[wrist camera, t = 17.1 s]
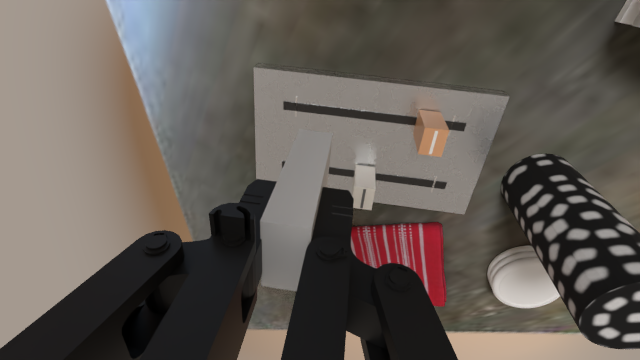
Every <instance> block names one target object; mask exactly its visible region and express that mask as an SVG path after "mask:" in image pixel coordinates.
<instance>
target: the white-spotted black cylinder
mask: <svg viewBox="0 0 640 360" xmlns="http://www.w3.org/2000/svg"><path fill="white" fill-rule="evenodd" d="M501 191H502V195H503V197H504V199H505V201H506V202H507V204H508V206H509V208H510V209H511V211H512V213H513V214H514V216H515V218H516V220H517V221H518V223H519V225H520V227H521V228H522V230H523V232H524V234H525V235H526V237H527V239H528V241H529V242H530V244H531V246H532V248H533V249H534V251H535V253H536V255H537V256H538V258H539V260H540V262H541V263H542V265H543V267H544V269H545V270H546V272H547V274H548V275H549V277H550V279H551V281H552V282H553V284H554V286H555V288H556V289H557V291H558V293H559V295H560V296H561V298H562V300H563V302H564V303H565V305H566V307H567V309H568V310H569V312H570V314H571V316H572V317H573V319H574V321H575V323H576V324H577V326H578V328H579V330H580V331H581V333H582V334H583V335H584V336H585V338H587V339H588V340H590V341H591V342H593V343H595V344H597V345H600V346H604V347H608V348H615V349H638V348H640V233H639V232H638V231H637V230H636V229H635V228H634V227H633V226H632V225H631V224H630V223H629V222H628V221H627V220H626V219H625V218H624V217H623V216H622V215H621V214H620V213H619V212H618V211H617V210H616V209H615V208H614V207H613V206H612V205H611V204H610V203H609V202H608V201H607V200H606V199H605V198H604V197H603V196H602V195H601V194H600V193H599V192H598V191H597V190H596V189H595V188H594V187H593V186H592V185H591V184H590V183H589V182H588V181H587V180H586V179H585V178H584V177H583V176H582V175H581V174H580V173H579V172H578V171H577V170H576V169H575V168H574V167H573V166H572V165H571V164H570V163H569V162H567V161H566V160H565V159H564V158H562V157H560V156H557V155H553V154H537V155H533V156H529V157H527V158H524V159H522V160H521V161H519V162H517V163H516V164H515V165H513V166H512V167H511V168H510V169H509V170H508V171H507V173H506V174H505V176H504V177H503V180H502V184H501Z"/></svg>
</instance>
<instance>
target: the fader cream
mask: <svg viewBox="0 0 640 360" xmlns="http://www.w3.org/2000/svg"><path fill="white" fill-rule="evenodd" d="M375 189H376V186H375V167H370V166H362V165H356V167H355V174H354V180H353V188H352V197H353V198H354V203H353V208H358V209H366V210H372V205H373V200H374V195H375Z"/></svg>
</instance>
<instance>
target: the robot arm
mask: <svg viewBox="0 0 640 360" xmlns="http://www.w3.org/2000/svg"><path fill="white" fill-rule="evenodd" d="M332 137H333V133H327V132H319V131H311V130H303V129H299V132H298V134H297V136H296V139H295V141H294V143H293V146H292V148H291V150H290V153H289V155H288V157H287V160H286V162H285V164H284V166H283V169H282V171H281V173H280V176H279V178H278V180H277V181H269V180H262V179H257V180H255V181H254V182H253V183H251V184H250V185H248V187H247V189H246V191H245V192H244V195H243V196H242V198H241V200H240V202H239V203H227V204H223V205H220V206H218V207H216V208H214V209H213V210H212V211H211V212H210V213H209V218H210V227H211V237H210V238H209V239H206V240H201V241H193V242H182V240H181V238H180V236H179V235H177V234H176V233H174V232H171V231H165V230H164V231H155V232H152V233H148V234H146V235H144V236H142V237H141V238H139V239H138V240H136V241H135V242H134V243H133V244H131V245H130V246H129V247H128V248H126V249H125V250H124V251H123V252H121V253H120V254H119V255H118V256H116V257H115V258H114V259H112V260H111V261H110V262H109V263H108V264H106V265H105V266H104V267H102V268H101V269H100V270H99V271H97V272H96V273H95V274H94V275H92V276H91V277H90V278H89V279H87V280H86V281H85V282H84V283H82V284H81V285H80V286H79V287H77V288H76V289H75V290H74V291H72V292H71V293H70V294H69V295H67V296H66V297H65V298H64V299H62V300H61V301H60V302H59V303H57V304H56V305H55V306H53V307H52V308H51V309H50V310H48V311H47V312H46V313H45V314H43V315H42V316H41V317H40V318H38V319H37V320H36V321H35V322H33V323H32V324H31V325H30V326H29V327H27V328H26V329H25V330H24V331H22V332H21V333H20V334H19V335H17V336H16V337H15V338H13V339H12V340H11V341H9V342H8V343H7V344H6V345H4V346H3V347H2V348H1V349H0V360H237V357H238V354H239V351H240V348H241V345H242V342H243V339H244V336H245V333H246V330H247V327H248V324H249V321H250V318H251V315H252V313H253V310H254V307H255V304H256V301H257V286H258V283H259V280H260V278H261V286H265V287H272V288H278V289H285V290H291V291H297V292H296V296H295V300H294V305H293V309H292V313H291V318H290V322H289V327H288V331H287V335H286V340H285V344H284V348H283V353H282V357H281V360H344V352H345V338H346V331H348V332H350V333H352V334H354V335H356V336H358V337H360V338H361V344H362V348H363V353H364V357H365V360H458V359H457V357H456V354H455V352H454V350H453V348H452V345H451V343H450V341H449V339H448V337H447V335H446V332H445V330H444V328H443V326H442V324H441V321H440V319H439V317H438V315H437V313H436V311H435V308H434V306H433V304H432V302H431V300H430V297H429V295H428V293H427V291H426V289H425V287H424V284H423V282H422V280H421V279H420V277H419V276H418V274H417V273H416V272H415V271H413V270H412V269H411V268H409V267H407V266H405V265H402V264H398V263H387V264H383V265H381V266H380V267H378V268H374V267H372V266H369V265H367V264H365V263H363V262H362V261H360V260H359V259H358V258H357V257H356V256H355V255H354V253H353V251H352V249H351V231H352V216H353V203H354V198H353V197H352V195H351V193H350V191H349V190H343V189H335V188H328V187H327V183H328V174H329V165H330V155H331V146H332Z"/></svg>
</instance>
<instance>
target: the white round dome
mask: <svg viewBox="0 0 640 360" xmlns="http://www.w3.org/2000/svg"><path fill="white" fill-rule="evenodd" d="M487 277H488V280H489V282H490V286H491V288H492V291H493V293H494V295H495V296H496V297H497V299H498V300H500V301H501V302H502V303H504V304H506V305H509V306H513V307H518V308H534V307H539V306H543V305H546V304H548V303H551V302H553V301H554V300H556V299H557V298H559V297H560V295H559V293H558V291H557V289H556V288H555V286H554V284H553V282H552V281H551V279H550V277H549V275H548V274H547V272H546V270H545V269H544V267H543V265H542V263H541V262H540V260H539V258H538V256H537V255H536V253H535V251H534V249H533V248H532V246H519V247H514V248H511V249H508V250H506V251H504V252H502V253H500V254H499V255H498V256H496V257H495V258H494V259H493V260H492V262H491V263H490V265H489V267H488V271H487Z"/></svg>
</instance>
